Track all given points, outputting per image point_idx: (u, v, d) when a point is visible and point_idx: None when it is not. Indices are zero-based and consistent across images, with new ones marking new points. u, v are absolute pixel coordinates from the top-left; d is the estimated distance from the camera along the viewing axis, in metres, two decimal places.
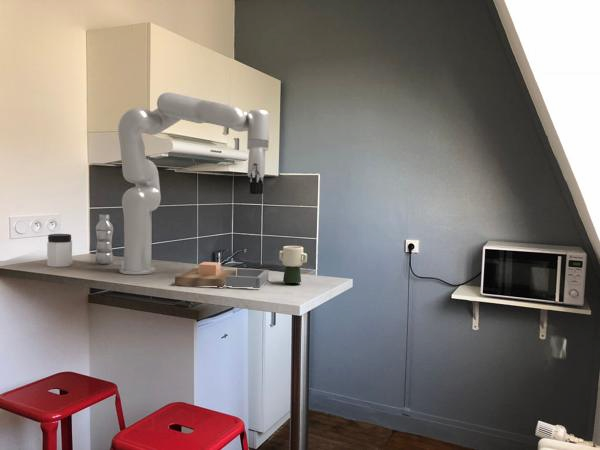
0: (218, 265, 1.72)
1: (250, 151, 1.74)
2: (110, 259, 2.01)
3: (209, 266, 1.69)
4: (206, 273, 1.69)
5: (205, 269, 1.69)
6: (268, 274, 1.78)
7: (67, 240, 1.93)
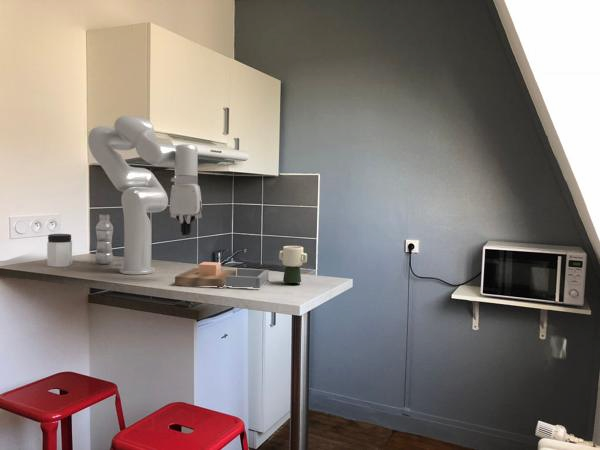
0: (218, 265, 1.72)
1: (196, 188, 1.69)
2: (110, 259, 2.01)
3: (209, 266, 1.69)
4: (206, 273, 1.69)
5: (205, 269, 1.69)
6: (268, 274, 1.78)
7: (67, 240, 1.93)
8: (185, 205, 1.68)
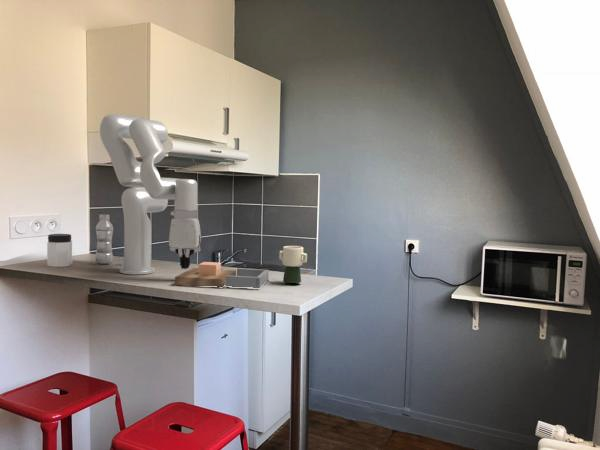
0: (218, 265, 1.72)
1: (196, 223, 1.69)
2: (110, 259, 2.01)
3: (209, 266, 1.69)
4: (206, 273, 1.69)
5: (205, 269, 1.69)
6: (268, 274, 1.78)
7: (67, 240, 1.93)
8: (184, 239, 1.69)
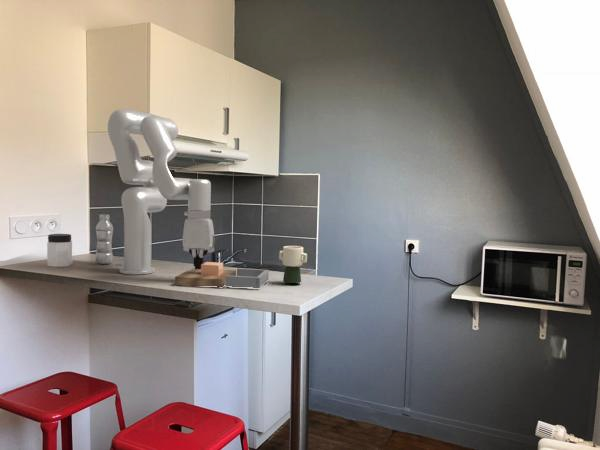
0: (220, 265, 1.72)
1: (209, 223, 1.69)
2: (110, 259, 2.01)
3: (211, 266, 1.69)
4: (208, 273, 1.69)
5: (207, 269, 1.69)
6: (268, 274, 1.78)
7: (67, 240, 1.93)
8: (198, 240, 1.69)
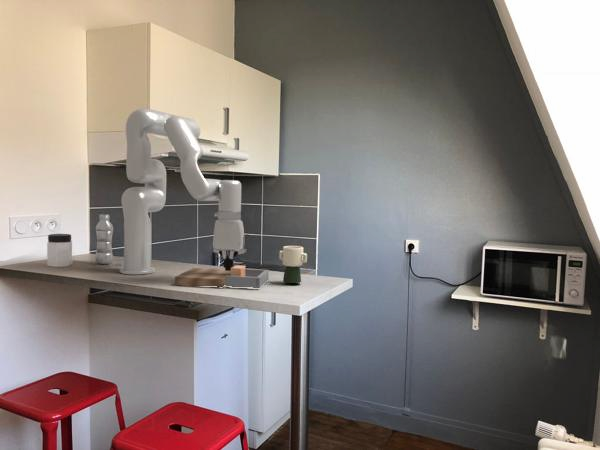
0: None
1: (240, 224, 1.68)
2: (110, 259, 2.01)
3: None
4: None
5: (236, 275, 1.68)
6: (268, 274, 1.78)
7: (67, 240, 1.93)
8: (229, 241, 1.68)
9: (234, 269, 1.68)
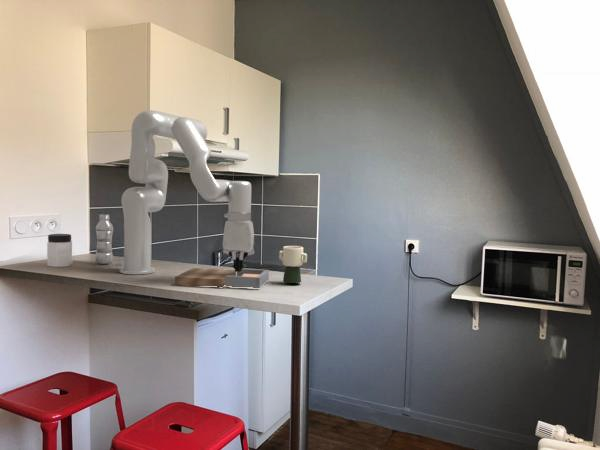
0: None
1: (250, 225, 1.67)
2: (110, 259, 2.01)
3: None
4: None
5: None
6: (268, 274, 1.78)
7: (67, 240, 1.93)
8: (239, 242, 1.67)
9: None
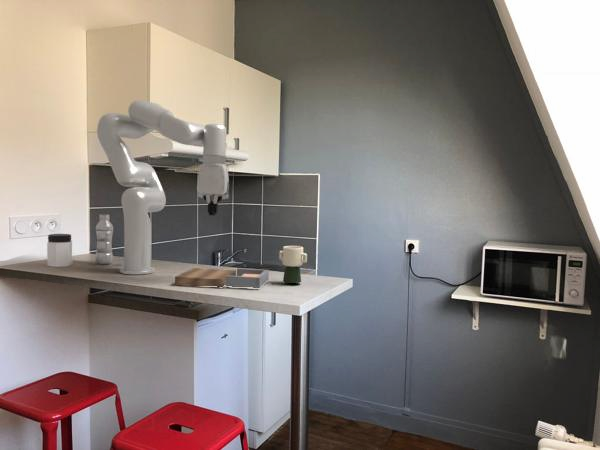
0: None
1: (224, 168, 1.68)
2: (110, 259, 2.01)
3: None
4: None
5: None
6: (268, 274, 1.78)
7: (67, 240, 1.93)
8: (213, 185, 1.68)
9: None
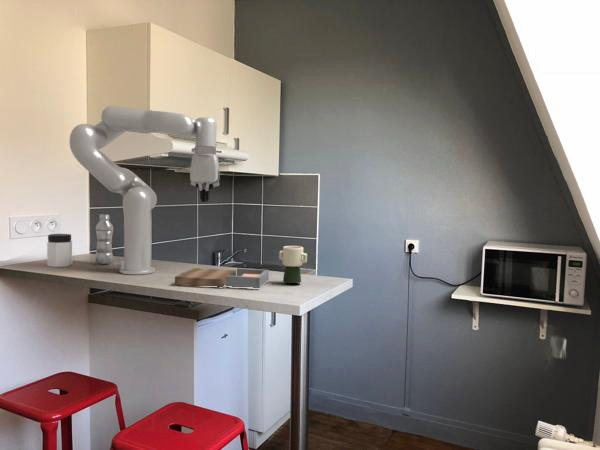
0: None
1: (215, 158, 1.82)
2: (110, 259, 2.01)
3: None
4: None
5: None
6: (268, 274, 1.78)
7: (67, 240, 1.93)
8: (204, 174, 1.82)
9: None
